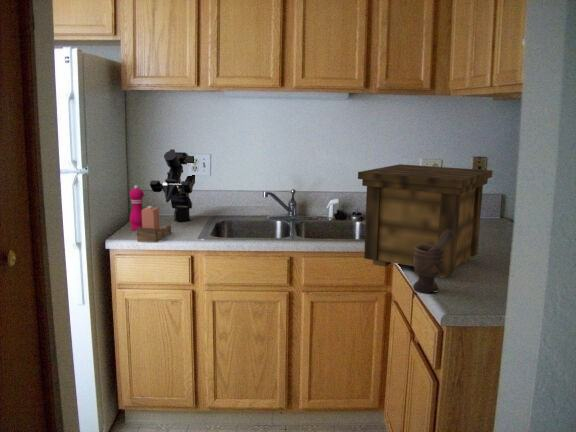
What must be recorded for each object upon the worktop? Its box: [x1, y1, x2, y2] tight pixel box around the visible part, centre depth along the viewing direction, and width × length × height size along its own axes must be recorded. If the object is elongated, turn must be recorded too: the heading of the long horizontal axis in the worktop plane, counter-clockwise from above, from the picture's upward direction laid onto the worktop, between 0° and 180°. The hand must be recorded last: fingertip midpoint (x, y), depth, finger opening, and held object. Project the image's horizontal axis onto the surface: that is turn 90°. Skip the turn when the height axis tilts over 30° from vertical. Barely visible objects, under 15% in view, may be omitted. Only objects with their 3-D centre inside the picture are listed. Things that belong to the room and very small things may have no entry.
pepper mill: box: [129, 184, 144, 231], centre depth 233 cm, size 7×7×20 cm
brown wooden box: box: [136, 224, 172, 243], centre depth 220 cm, size 17×8×6 cm, turn 172°
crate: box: [357, 164, 493, 278], centre depth 183 cm, size 35×35×33 cm
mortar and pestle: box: [412, 229, 454, 294], centre depth 154 cm, size 12×9×20 cm
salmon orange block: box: [142, 205, 161, 231], centre depth 215 cm, size 6×5×11 cm
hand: (167, 201), depth 233 cm, fingers closed
